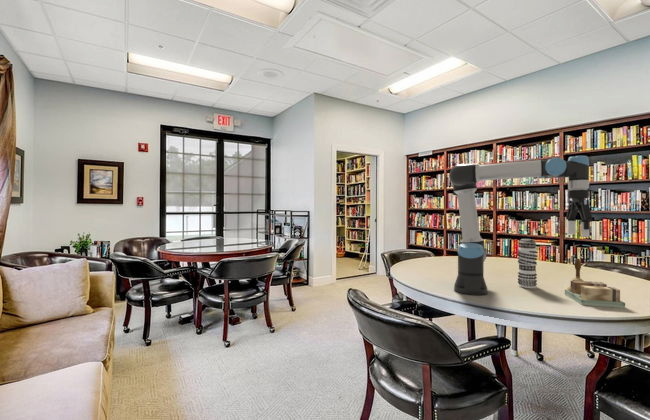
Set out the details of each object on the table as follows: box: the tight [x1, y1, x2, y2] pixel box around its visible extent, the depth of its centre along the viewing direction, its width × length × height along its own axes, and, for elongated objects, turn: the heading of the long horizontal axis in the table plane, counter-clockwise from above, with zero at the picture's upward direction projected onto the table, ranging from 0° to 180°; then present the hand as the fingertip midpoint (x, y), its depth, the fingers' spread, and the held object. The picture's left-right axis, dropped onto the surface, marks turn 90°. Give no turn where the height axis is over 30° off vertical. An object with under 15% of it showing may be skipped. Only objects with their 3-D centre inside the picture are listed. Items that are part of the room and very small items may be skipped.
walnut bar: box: [570, 280, 608, 294], centre depth 146 cm, size 12×5×6 cm, turn 72°
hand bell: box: [566, 258, 584, 290], centre depth 160 cm, size 8×8×16 cm
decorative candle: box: [516, 238, 539, 289], centre depth 167 cm, size 9×9×25 cm
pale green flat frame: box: [564, 289, 626, 309], centre depth 141 cm, size 15×17×2 cm
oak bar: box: [581, 285, 621, 302], centre depth 136 cm, size 12×5×6 cm, turn 72°
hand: (578, 235), depth 146 cm, fingers open, 13 cm apart
